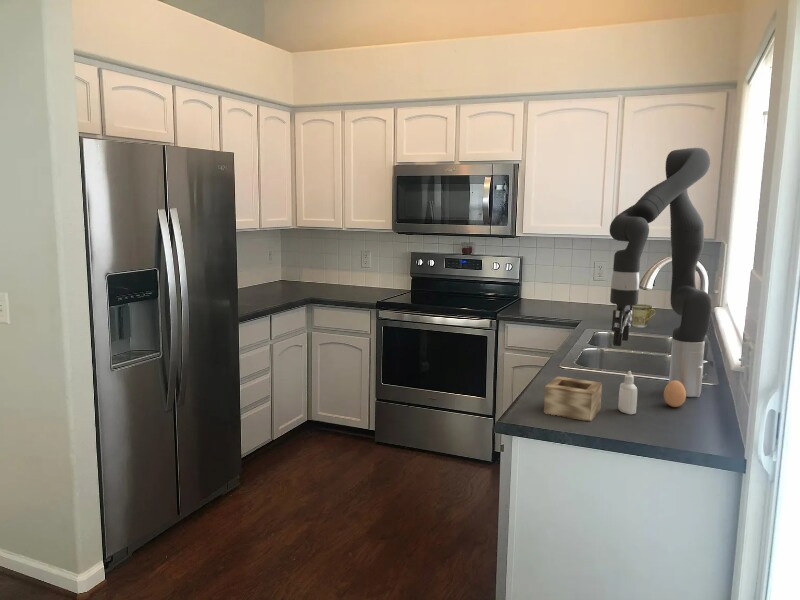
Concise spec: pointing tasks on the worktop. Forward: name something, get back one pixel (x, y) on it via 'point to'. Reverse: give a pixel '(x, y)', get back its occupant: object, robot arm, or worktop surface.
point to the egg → (674, 393)
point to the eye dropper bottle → (628, 395)
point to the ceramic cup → (641, 315)
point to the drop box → (573, 398)
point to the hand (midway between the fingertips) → (620, 342)
